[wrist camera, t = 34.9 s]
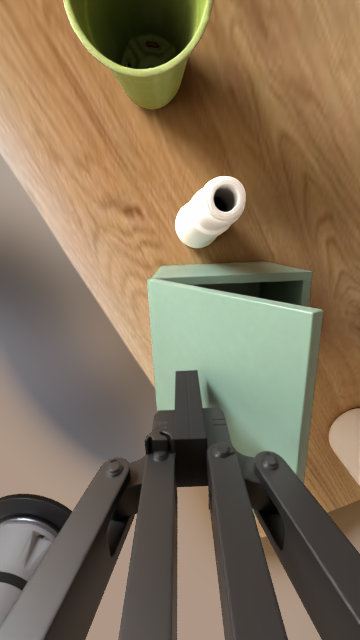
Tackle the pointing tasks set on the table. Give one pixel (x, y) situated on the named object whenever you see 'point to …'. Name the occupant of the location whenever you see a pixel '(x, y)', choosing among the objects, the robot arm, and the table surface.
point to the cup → (347, 441)
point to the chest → (245, 279)
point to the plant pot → (141, 41)
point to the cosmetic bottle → (210, 211)
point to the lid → (240, 363)
